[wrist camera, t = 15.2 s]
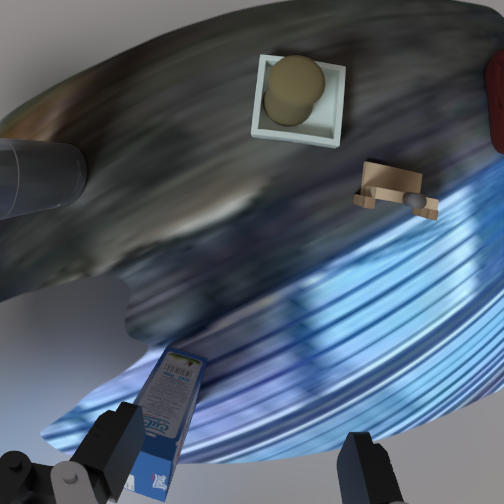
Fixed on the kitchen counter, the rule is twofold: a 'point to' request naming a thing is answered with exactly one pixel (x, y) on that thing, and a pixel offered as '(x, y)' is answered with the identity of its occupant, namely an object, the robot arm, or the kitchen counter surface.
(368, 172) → the bracket
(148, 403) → the milk carton
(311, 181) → the kitchen counter surface
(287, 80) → the cork
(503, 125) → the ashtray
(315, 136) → the tray
